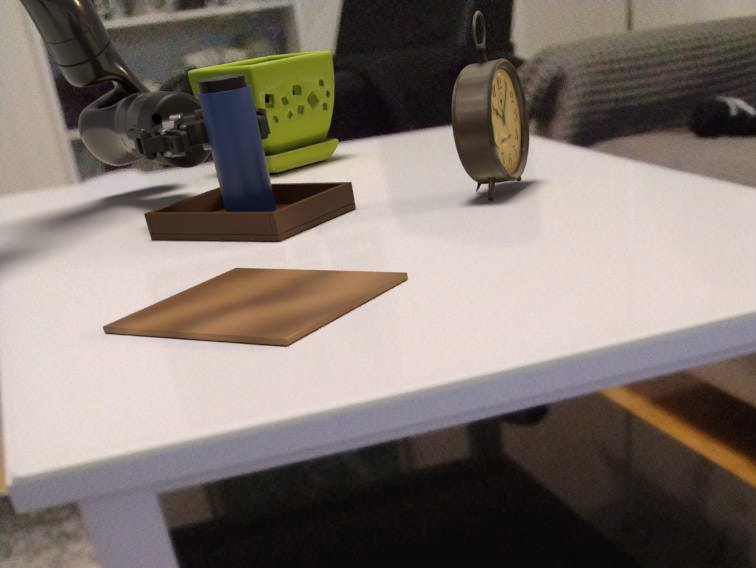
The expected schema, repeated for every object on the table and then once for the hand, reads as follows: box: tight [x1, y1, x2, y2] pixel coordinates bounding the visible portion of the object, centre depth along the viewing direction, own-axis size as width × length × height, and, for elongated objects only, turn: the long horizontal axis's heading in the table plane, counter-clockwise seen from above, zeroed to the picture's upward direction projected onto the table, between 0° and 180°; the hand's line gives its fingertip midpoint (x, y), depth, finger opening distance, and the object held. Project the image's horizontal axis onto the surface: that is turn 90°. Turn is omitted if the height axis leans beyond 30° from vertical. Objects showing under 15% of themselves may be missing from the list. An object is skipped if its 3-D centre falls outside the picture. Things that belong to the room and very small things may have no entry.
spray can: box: [198, 74, 277, 212], centre depth 103 cm, size 5×5×13 cm
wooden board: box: [102, 267, 409, 347], centre depth 80 cm, size 18×16×1 cm
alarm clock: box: [450, 10, 530, 202], centre depth 102 cm, size 11×5×16 cm, turn 159°
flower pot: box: [187, 50, 339, 174], centre depth 134 cm, size 14×14×13 cm
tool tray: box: [143, 181, 357, 242], centre depth 106 cm, size 17×13×3 cm
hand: (226, 135), depth 104 cm, fingers open, 8 cm apart
